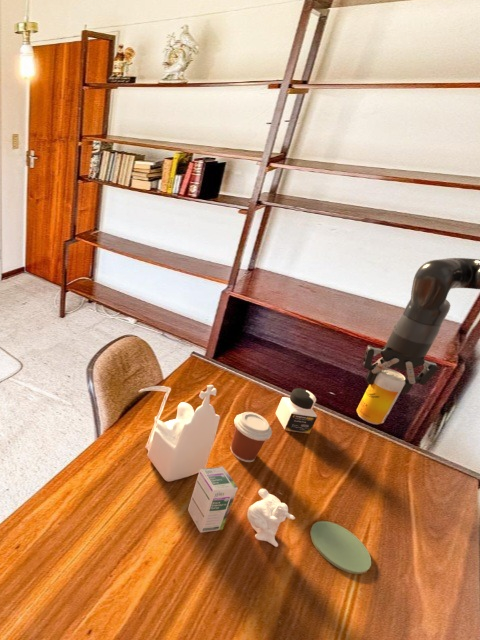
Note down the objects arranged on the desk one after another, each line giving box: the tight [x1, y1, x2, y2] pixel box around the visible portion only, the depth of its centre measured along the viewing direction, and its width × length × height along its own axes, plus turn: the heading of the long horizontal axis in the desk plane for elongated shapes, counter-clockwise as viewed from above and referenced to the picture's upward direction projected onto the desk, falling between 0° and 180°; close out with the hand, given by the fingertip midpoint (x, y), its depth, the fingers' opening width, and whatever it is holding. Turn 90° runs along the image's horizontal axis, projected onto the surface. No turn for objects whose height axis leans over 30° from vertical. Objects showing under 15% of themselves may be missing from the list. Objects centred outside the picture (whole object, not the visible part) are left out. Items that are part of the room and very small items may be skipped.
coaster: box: [309, 520, 372, 575], centre depth 88 cm, size 11×11×1 cm
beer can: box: [356, 367, 406, 425], centre depth 106 cm, size 6×6×15 cm
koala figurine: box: [246, 488, 296, 548], centre depth 88 cm, size 8×7×12 cm
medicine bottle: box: [275, 387, 318, 434], centre depth 119 cm, size 7×7×12 cm
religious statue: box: [138, 384, 221, 482], centre depth 102 cm, size 17×14×30 cm
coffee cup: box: [229, 411, 273, 463], centre depth 109 cm, size 9×9×12 cm
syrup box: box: [187, 465, 238, 534], centre depth 90 cm, size 6×6×14 cm
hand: (385, 387), depth 105 cm, fingers closed on beer can, 6 cm apart
